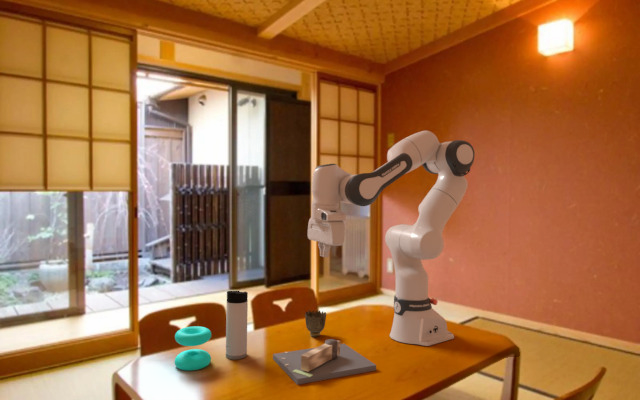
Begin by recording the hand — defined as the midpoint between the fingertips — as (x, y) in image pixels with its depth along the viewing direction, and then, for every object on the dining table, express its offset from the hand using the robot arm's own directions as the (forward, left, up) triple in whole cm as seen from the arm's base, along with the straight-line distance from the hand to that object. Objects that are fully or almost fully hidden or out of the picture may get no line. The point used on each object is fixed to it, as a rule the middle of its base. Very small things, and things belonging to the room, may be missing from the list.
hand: (324, 256), depth 143 cm
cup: (-2, -10, -29) cm, 31 cm away
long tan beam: (+8, +17, -27) cm, 33 cm away
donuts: (+41, 0, -29) cm, 50 cm away
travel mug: (+28, -2, -29) cm, 41 cm away
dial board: (+6, +14, -29) cm, 33 cm away
